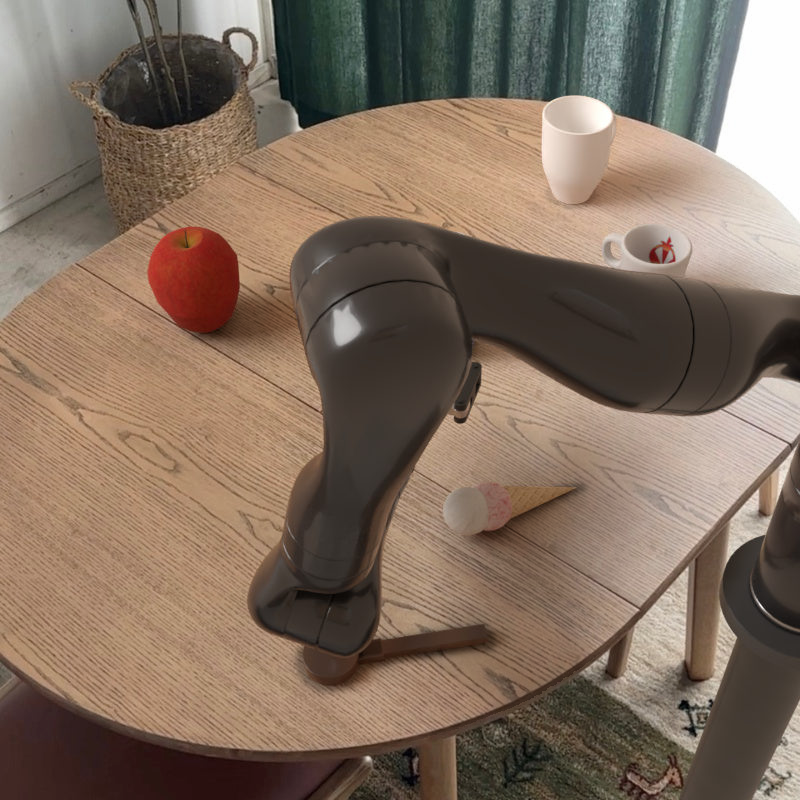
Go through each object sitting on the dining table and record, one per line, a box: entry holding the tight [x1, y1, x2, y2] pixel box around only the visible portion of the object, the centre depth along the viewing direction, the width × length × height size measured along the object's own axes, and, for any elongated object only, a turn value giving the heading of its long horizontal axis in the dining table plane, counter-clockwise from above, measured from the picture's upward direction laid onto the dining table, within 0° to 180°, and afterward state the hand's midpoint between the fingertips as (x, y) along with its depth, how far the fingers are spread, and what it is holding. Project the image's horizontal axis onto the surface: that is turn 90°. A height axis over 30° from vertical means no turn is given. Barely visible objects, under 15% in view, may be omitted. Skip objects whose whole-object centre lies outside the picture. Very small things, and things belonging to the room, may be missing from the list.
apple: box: [146, 226, 241, 334], centre depth 122 cm, size 10×10×14 cm
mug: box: [541, 95, 618, 205], centre depth 138 cm, size 12×9×12 cm
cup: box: [601, 222, 693, 278], centre depth 124 cm, size 11×8×8 cm
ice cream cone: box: [442, 481, 578, 536], centre depth 104 cm, size 5×5×15 cm
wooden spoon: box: [302, 623, 488, 687], centre depth 95 cm, size 16×5×1 cm, turn 99°
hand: (422, 328), depth 105 cm, fingers open, 8 cm apart
